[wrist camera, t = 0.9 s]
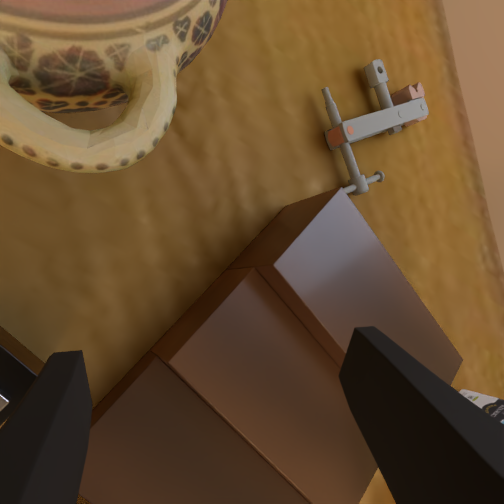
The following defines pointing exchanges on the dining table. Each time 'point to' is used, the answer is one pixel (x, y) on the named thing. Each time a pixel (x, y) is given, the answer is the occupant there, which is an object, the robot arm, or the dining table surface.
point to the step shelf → (263, 374)
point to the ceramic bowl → (95, 75)
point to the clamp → (373, 121)
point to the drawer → (15, 372)
